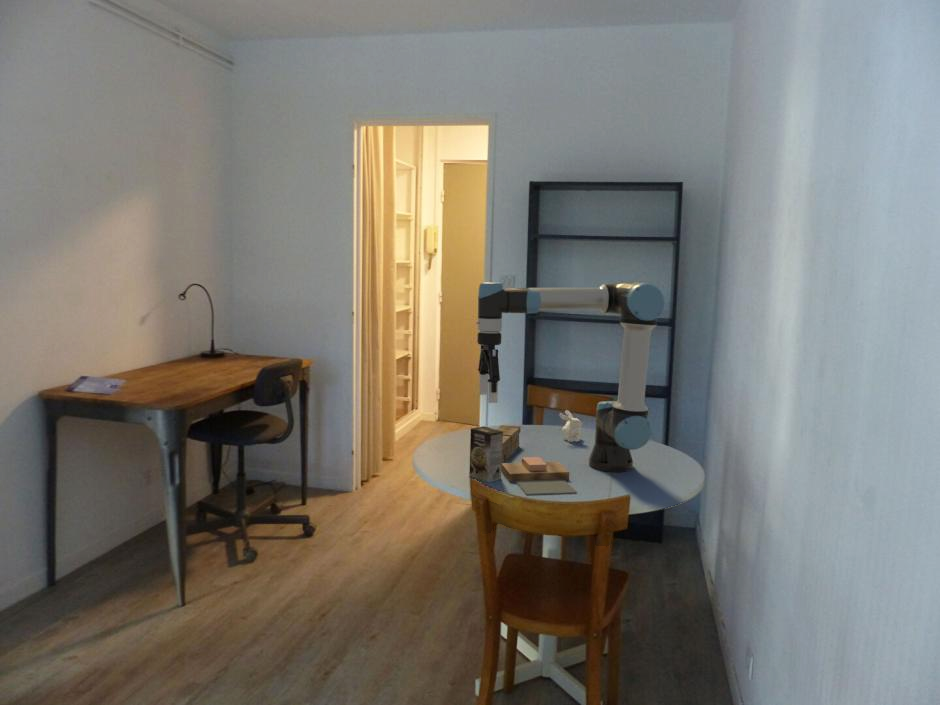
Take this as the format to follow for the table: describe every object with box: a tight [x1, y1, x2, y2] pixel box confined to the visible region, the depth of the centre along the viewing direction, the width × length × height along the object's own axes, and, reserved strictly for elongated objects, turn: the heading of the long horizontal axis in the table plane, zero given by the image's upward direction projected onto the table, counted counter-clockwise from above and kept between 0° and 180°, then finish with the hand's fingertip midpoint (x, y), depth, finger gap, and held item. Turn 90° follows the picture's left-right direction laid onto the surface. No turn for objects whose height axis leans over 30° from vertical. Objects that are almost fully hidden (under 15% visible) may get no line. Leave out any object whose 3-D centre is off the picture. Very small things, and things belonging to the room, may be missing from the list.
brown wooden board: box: [501, 461, 570, 483], centre depth 231 cm, size 20×12×3 cm, turn 100°
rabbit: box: [559, 409, 583, 443], centre depth 281 cm, size 12×9×12 cm
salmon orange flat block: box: [521, 456, 547, 471], centre depth 232 cm, size 9×6×2 cm, turn 10°
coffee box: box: [468, 425, 503, 483], centre depth 226 cm, size 9×6×16 cm
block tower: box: [496, 424, 521, 463], centre depth 257 cm, size 8×8×29 cm
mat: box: [515, 479, 578, 496], centre depth 219 cm, size 16×13×1 cm
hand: (488, 398), depth 221 cm, fingers open, 13 cm apart
